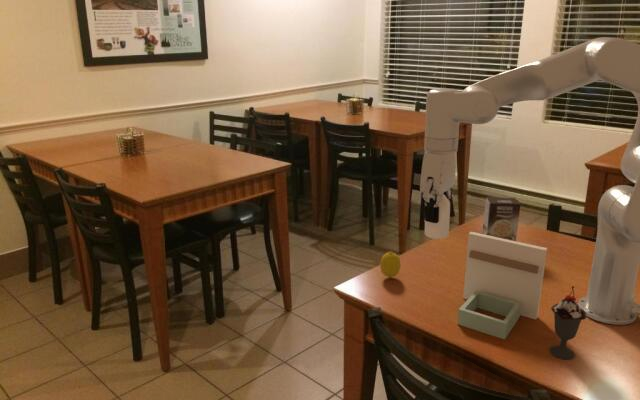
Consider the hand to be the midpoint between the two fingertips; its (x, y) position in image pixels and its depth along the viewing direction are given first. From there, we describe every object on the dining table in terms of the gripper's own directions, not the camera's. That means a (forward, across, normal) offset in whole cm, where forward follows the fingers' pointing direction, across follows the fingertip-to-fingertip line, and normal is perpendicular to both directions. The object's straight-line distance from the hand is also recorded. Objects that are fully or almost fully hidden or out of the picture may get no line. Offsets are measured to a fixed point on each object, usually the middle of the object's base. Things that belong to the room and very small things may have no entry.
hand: (437, 217), depth 125 cm
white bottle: (+5, 0, 0) cm, 5 cm away
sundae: (+23, +4, +32) cm, 40 cm away
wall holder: (+23, -1, +15) cm, 27 cm away
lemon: (+23, -6, -15) cm, 28 cm away
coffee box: (+23, -43, +3) cm, 49 cm away
